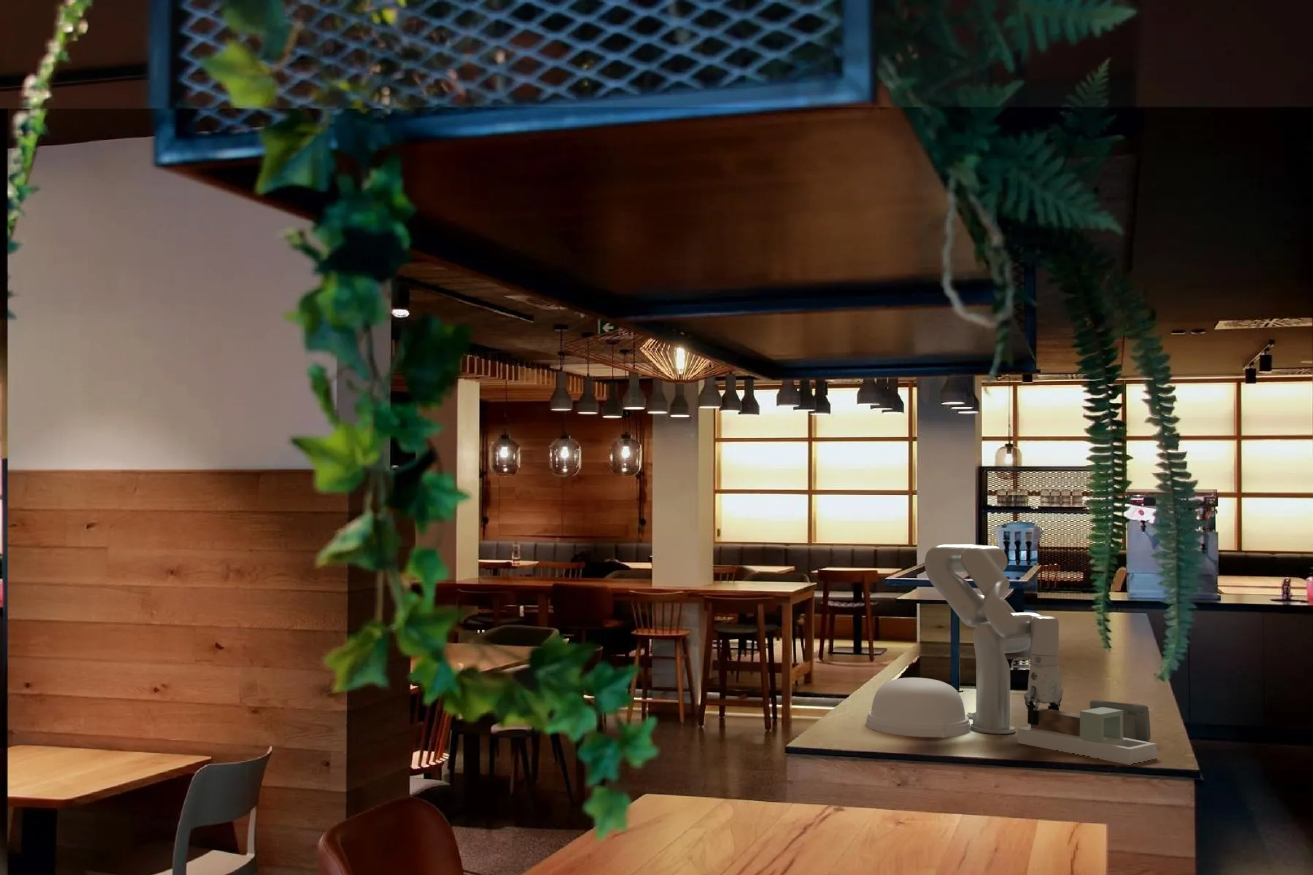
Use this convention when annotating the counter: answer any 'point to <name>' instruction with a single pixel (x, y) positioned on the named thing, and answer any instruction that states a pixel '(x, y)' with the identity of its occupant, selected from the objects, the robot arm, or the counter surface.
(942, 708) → the dome cover
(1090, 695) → the counter surface
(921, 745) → the counter surface
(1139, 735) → the digital clock
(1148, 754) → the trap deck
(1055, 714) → the walnut bar
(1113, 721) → the tunnel
